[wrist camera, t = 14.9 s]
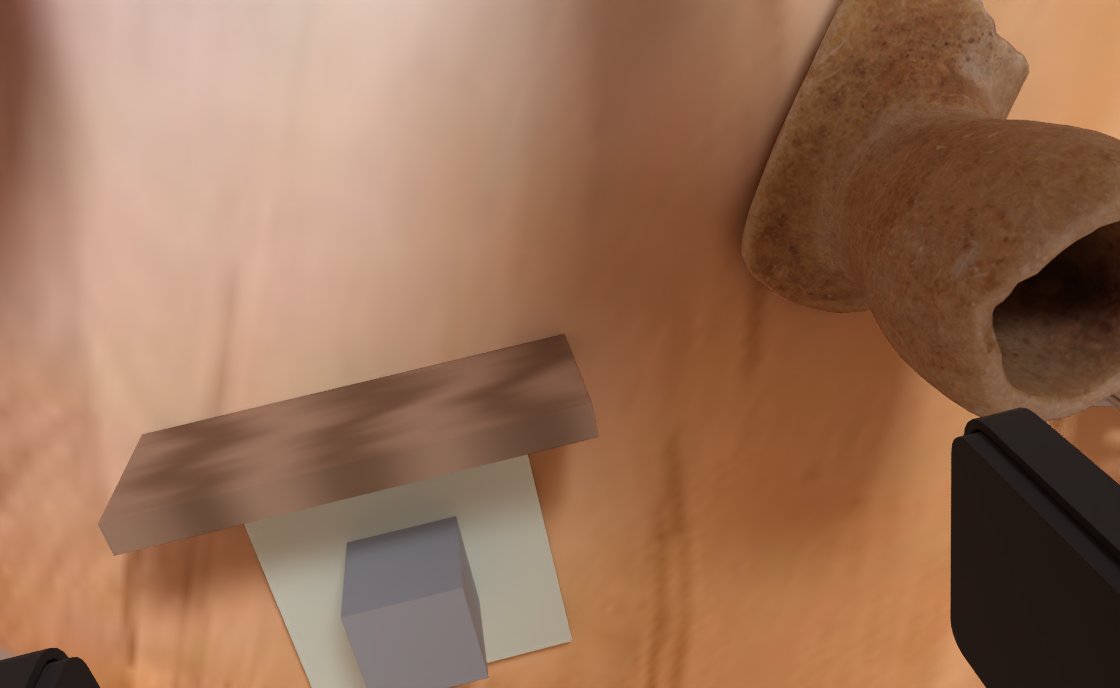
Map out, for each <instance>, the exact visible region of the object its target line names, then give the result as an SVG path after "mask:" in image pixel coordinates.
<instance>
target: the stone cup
mask: <svg viewBox="0 0 1120 688" xmlns="http://www.w3.org/2000/svg"><path fill="white" fill-rule="evenodd" d="M1028 74H1029V65H1028V63H1027V61H1026V59H1025V56H1024V55H1023V54H1021V53H1020V52H1018V51H1017V50H1016V49H1015V48H1014V47H1013V46H1012V45H1011V44H1010V43H1009V42H1008V41H1006V40H1005V39H1003V38H1002V37H1001V36H999V35H998V34H997V33H996V28H995V23H994V19H993V18H992V17H991V16H990V15H989V14H988V13H987V12H986V11H985V8H984V6H983V3H982V1H981V0H842V1H841V3H840V5H839V6H838V8H837V10H836V12H835V14H834V16H833V18H832V21H831V23H830V25H829V27H828V29H827V31H826V33H825V36H824V38H823V40H822V42H821V44H820V46H819V48H818V51H817V53H816V55H815V57H814V59H813V62H812V64H811V66H810V68H809V71H808V73H807V75H806V77H805V79H804V81H803V83H802V85H801V87H800V89H799V91H798V93H797V95H796V98H795V100H794V102H793V104H792V106H791V109H790V111H789V113H788V115H787V117H786V120H785V122H784V124H783V126H782V128H781V131H780V133H779V135H778V138H777V140H776V142H775V145H774V147H773V149H772V152H771V154H770V157H769V159H768V162H767V164H766V167H765V169H764V172H763V175H762V177H761V180H760V182H759V185H758V187H757V190H756V193H755V195H754V198H753V200H752V203H751V206H750V209H749V212H748V216H747V220H746V224H745V228H744V233H743V237H742V246H741V255H742V258H743V261H744V263H745V266H746V267H747V268H748V270H749V271H750V273H751V274H752V276H753V277H754V278H756V279H757V280H758V281H760V282H761V283H762V284H764V285H765V286H766V287H768V288H769V289H770V290H772V291H774V292H776V293H778V294H780V295H782V296H784V297H786V298H788V299H790V300H792V301H794V302H796V303H798V304H801V305H804V306H807V307H811V308H816V309H821V310H825V311H829V312H836V313H845V312H856V311H866V310H868V309H871V311H872V313H873V315H874V317H875V320H876V321H877V323H878V324H879V326H880V328H881V329H882V331H883V333H884V334H885V336H886V338H887V339H888V340H889V342H890V343H891V345H892V346H893V347H894V349H895V350H896V351H897V353H898V354H899V355H900V357H901V358H902V359H903V360H904V361H905V362H906V363H907V364H908V365H909V366H910V367H912V368H913V369H914V370H915V371H916V372H917V373H918V374H919V375H920V376H921V377H922V378H924V379H925V380H926V381H927V382H928V383H930V384H931V385H932V386H933V387H935V388H936V389H937V390H939V391H940V392H941V393H942V394H944V395H945V396H946V397H948V398H949V399H950V400H952V401H953V402H955V403H957V404H958V405H960V406H961V407H963V408H964V409H966V410H967V411H969V412H971V413H973V414H975V415H977V416H980V417H984V416H988V415H992V414H996V413H1000V412H1004V411H1008V410H1012V409H1016V408H1020V407H1021V408H1028V409H1029V410H1031V411H1032V412H1034V413H1035V414H1037V415H1038V416H1039V417H1040V418H1041V419H1042V420H1044V421H1045V422H1046V421H1051V420H1056V419H1061V418H1065V417H1069V416H1072V415H1074V414H1076V413H1079V412H1081V411H1083V410H1085V409H1087V408H1089V407H1091V406H1092V405H1094V404H1096V403H1098V402H1100V401H1101V400H1103V399H1105V398H1107V397H1109V396H1111V395H1113V394H1115V393H1116V392H1118V391H1119V390H1120V140H1118V139H1116V138H1114V137H1111V136H1108V135H1106V134H1103V133H1100V132H1097V131H1093V130H1088V129H1083V128H1079V127H1074V126H1068V125H1060V124H1052V123H1045V122H1037V121H1029V120H1006V118H1007V116H1008V114H1009V112H1010V110H1011V108H1012V106H1013V104H1014V102H1015V100H1016V98H1017V96H1018V93H1019V91H1020V89H1021V87H1022V85H1023V83H1024V81H1025V79H1026V78H1027V76H1028Z"/></svg>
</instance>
